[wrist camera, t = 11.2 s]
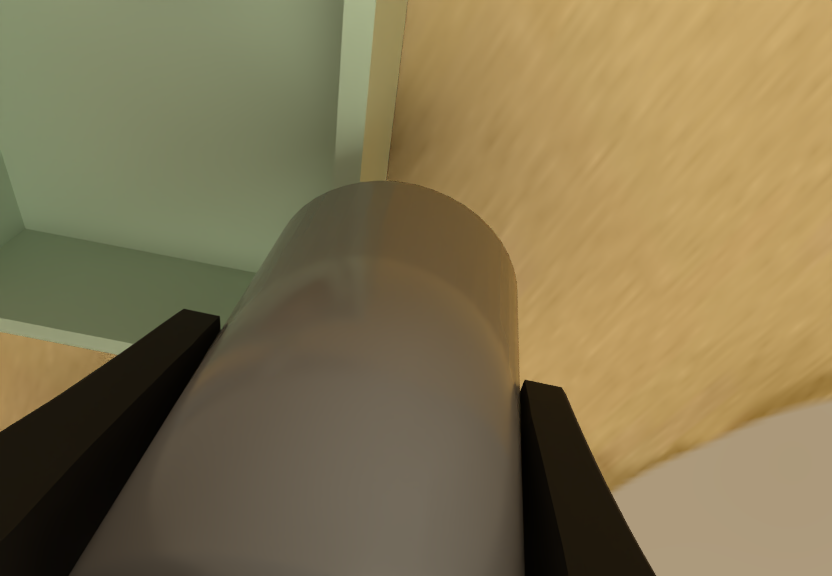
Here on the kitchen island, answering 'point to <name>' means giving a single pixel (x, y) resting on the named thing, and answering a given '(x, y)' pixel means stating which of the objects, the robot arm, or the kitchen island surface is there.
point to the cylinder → (344, 410)
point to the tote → (174, 149)
